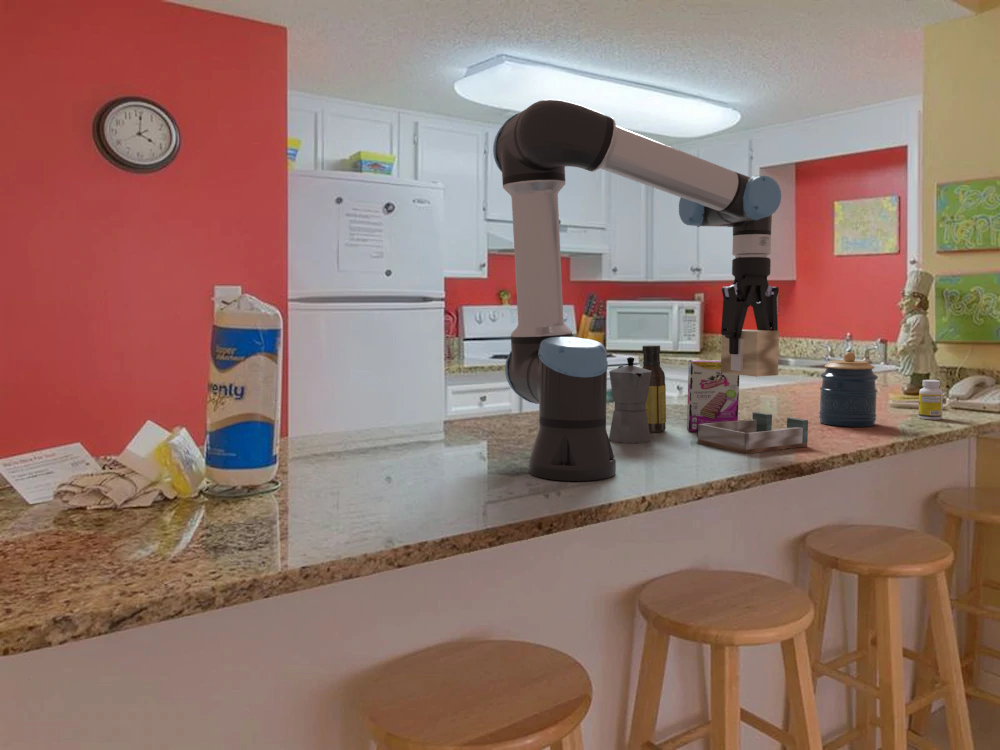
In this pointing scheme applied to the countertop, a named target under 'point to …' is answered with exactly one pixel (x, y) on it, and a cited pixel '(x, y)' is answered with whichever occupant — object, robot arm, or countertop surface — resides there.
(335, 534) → the countertop surface
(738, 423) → the grey open tray
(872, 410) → the canister
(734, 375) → the candy bar box
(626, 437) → the coffeepot
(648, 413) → the sauce bottle
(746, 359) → the tan rectangular block
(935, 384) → the supplement bottle
